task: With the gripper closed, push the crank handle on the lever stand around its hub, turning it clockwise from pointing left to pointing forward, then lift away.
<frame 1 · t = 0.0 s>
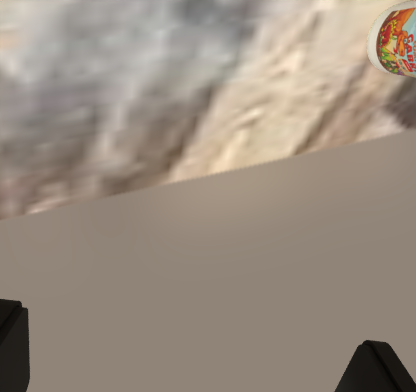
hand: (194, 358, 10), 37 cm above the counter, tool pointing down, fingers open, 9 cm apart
milk bottle: (394, 39, 41), on the counter
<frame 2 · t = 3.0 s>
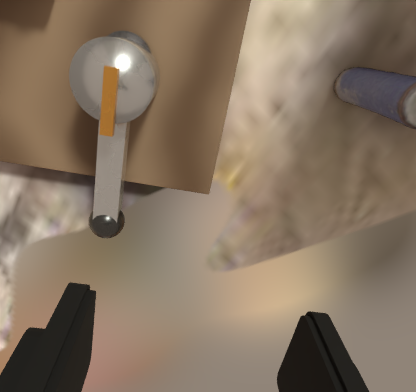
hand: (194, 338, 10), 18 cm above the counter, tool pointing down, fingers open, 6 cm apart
flask: (389, 95, 25), on the counter
crank handle: (113, 145, 21), point 4 cm above the counter, hinge at 90.0°
lever stand: (115, 70, 23), on the counter
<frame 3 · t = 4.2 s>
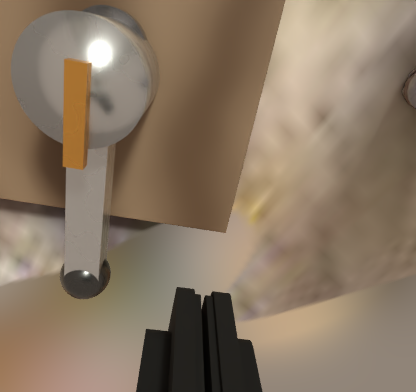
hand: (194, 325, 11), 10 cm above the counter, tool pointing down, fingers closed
crank handle: (90, 175, 15), point 4 cm above the counter, hinge at 90.0°
lever stand: (98, 64, 17), on the counter
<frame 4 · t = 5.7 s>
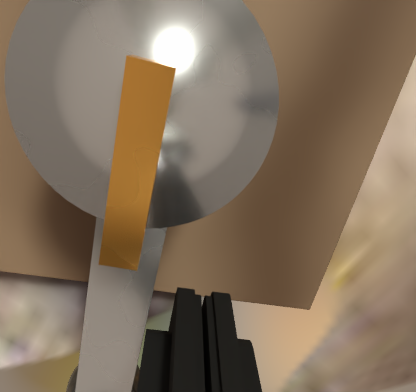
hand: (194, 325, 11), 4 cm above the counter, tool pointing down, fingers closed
crank handle: (129, 251, 9), point 4 cm above the counter, hinge at 87.9°, touching gripper
lever stand: (137, 71, 11), on the counter
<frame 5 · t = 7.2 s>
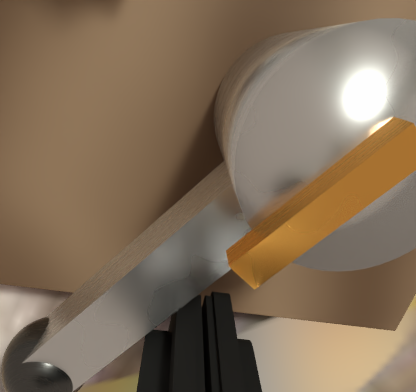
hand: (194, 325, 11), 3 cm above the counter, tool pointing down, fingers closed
crank handle: (187, 247, 8), point 4 cm above the counter, hinge at 54.0°, touching gripper
lever stand: (246, 101, 11), on the counter
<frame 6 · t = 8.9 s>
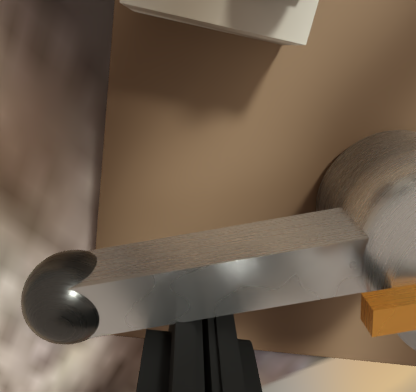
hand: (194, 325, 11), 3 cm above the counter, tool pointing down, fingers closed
crank handle: (276, 261, 9), point 4 cm above the counter, hinge at 20.8°, touching gripper
lever stand: (333, 173, 12), on the counter
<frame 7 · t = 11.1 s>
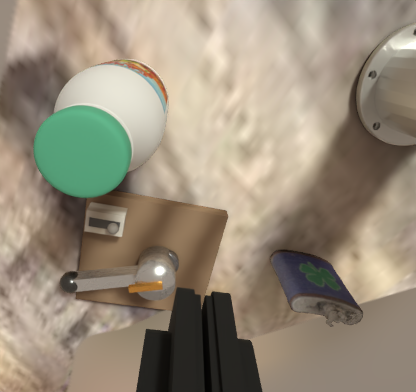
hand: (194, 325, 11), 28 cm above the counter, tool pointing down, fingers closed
flask: (301, 261, 45), on the counter
crank handle: (120, 277, 38), point 4 cm above the counter, hinge at 17.1°
lever stand: (150, 252, 42), on the counter
milk bottle: (131, 98, 35), on the counter
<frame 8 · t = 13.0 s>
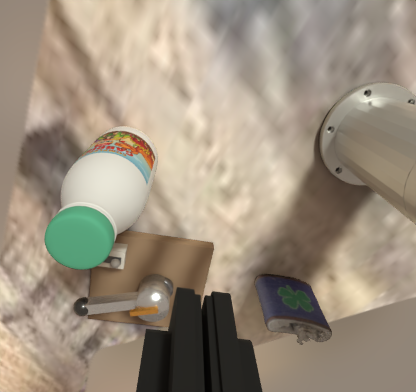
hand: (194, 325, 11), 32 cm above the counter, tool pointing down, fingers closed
flask: (283, 283, 51), on the counter
crank handle: (123, 302, 45), point 4 cm above the counter, hinge at 17.1°
lever stand: (149, 278, 49), on the counter
milk bottle: (127, 155, 42), on the counter
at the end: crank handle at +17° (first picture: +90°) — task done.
